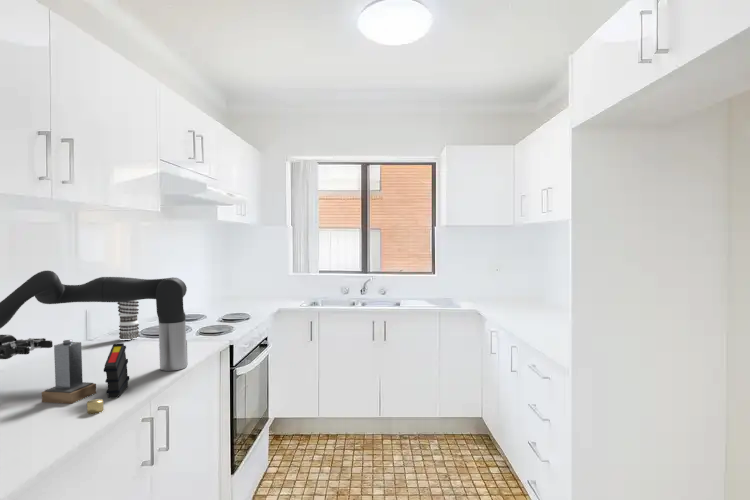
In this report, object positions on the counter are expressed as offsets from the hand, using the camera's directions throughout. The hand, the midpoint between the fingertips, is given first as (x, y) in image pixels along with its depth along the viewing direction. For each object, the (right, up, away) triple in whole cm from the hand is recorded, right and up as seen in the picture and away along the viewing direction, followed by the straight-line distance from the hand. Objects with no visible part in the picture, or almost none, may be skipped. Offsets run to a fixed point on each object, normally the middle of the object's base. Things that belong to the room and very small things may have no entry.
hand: (40, 347), depth 155 cm
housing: (+9, -12, -1) cm, 15 cm away
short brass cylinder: (+24, -15, -14) cm, 32 cm away
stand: (+9, -15, -1) cm, 18 cm away
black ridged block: (+22, -15, +2) cm, 27 cm away
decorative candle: (-15, -13, +87) cm, 89 cm away
